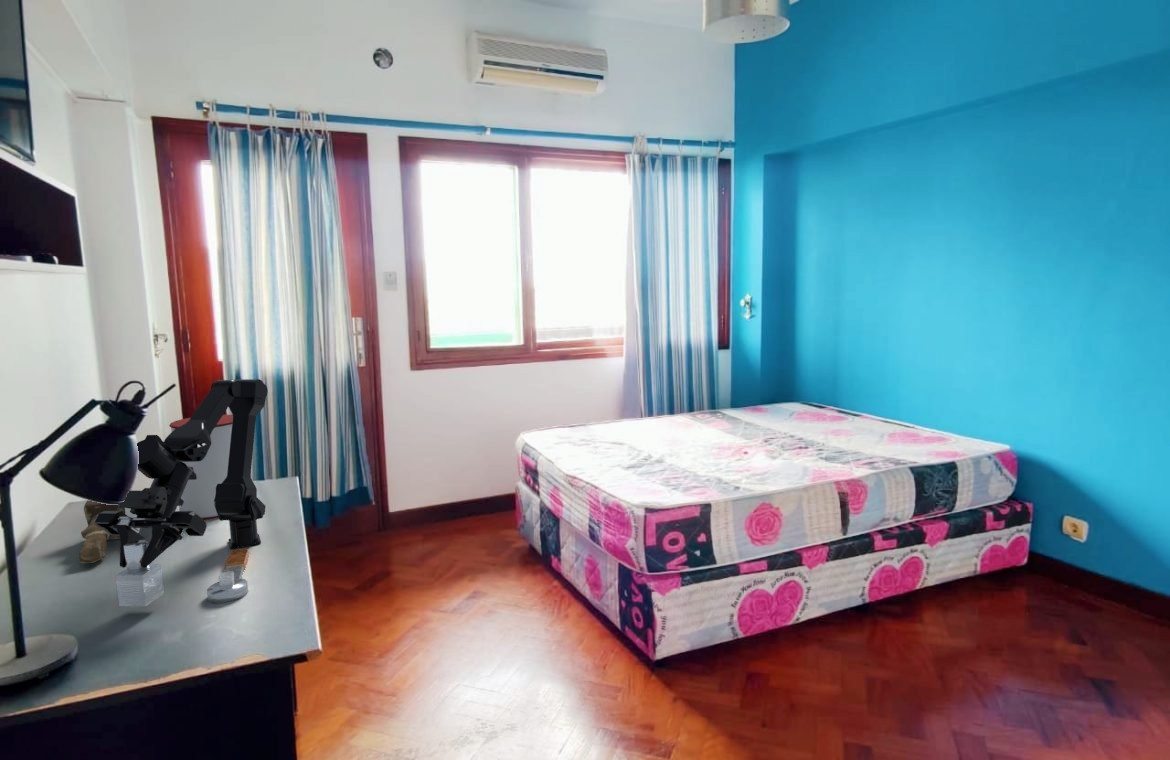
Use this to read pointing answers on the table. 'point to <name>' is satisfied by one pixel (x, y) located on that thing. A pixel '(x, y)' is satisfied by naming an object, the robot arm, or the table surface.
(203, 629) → the table surface
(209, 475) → the container
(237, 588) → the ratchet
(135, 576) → the clear square perfume bottle
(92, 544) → the brown boot
